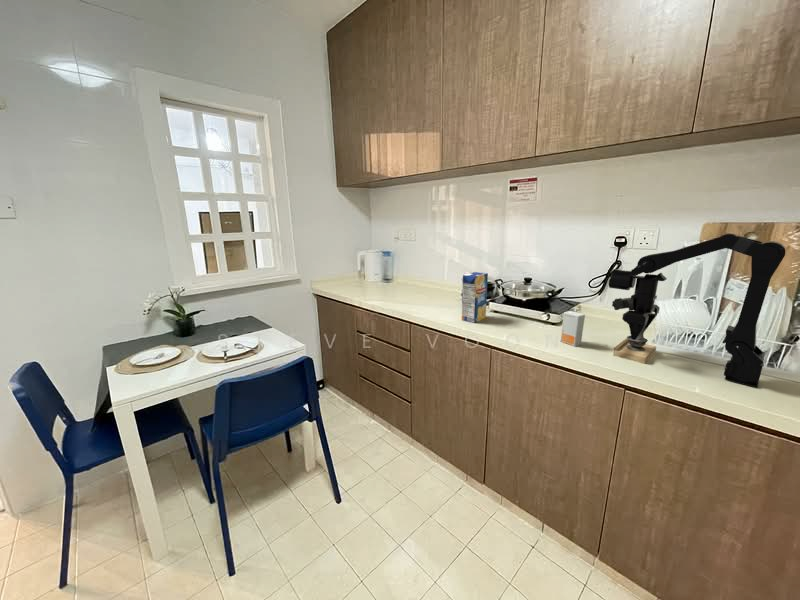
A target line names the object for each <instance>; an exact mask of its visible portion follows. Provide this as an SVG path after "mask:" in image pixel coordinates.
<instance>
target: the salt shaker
mask: <svg viewBox="0 0 800 600" xmlns="http://www.w3.org/2000/svg"><path fill="white" fill-rule="evenodd" d="M644 330H645V328H643V330H642V331H641V333H640V334H639V336H638V337H637V338H636V340H633V339H631V335H628V336H627V337H626V338H627V339H628V343H629V344H630V345H627V346H626V347H627V348H628V349H630V350H634V351H645V349H644V348H643V347H642V346H644V345H645V344H647V342H648V339H647V338H646V337H644V333H645V332H644ZM645 331H646V330H645Z"/></svg>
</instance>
